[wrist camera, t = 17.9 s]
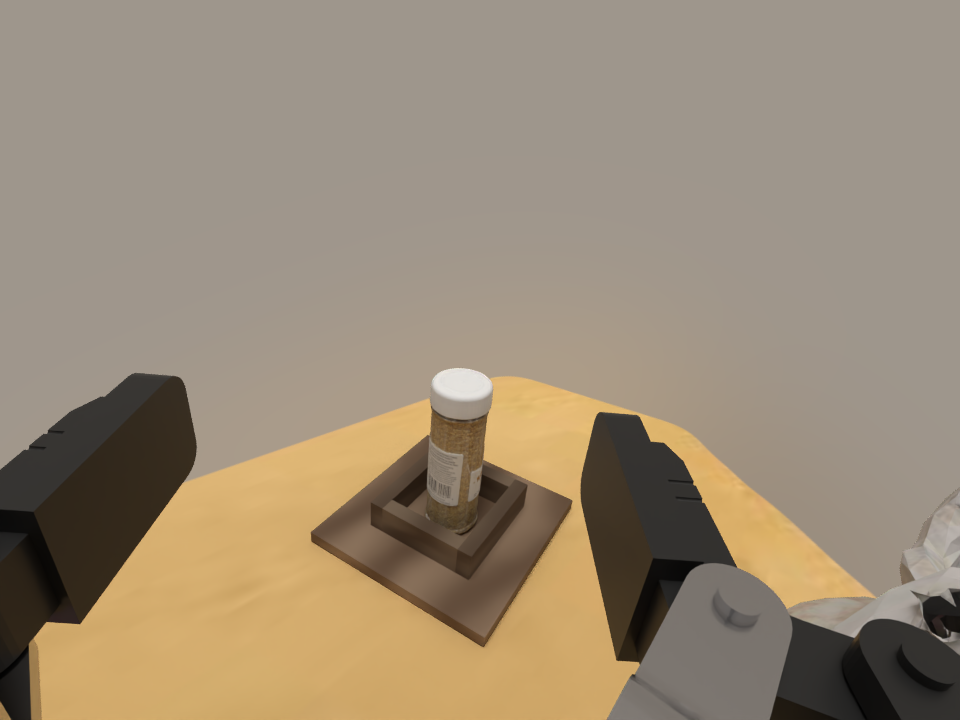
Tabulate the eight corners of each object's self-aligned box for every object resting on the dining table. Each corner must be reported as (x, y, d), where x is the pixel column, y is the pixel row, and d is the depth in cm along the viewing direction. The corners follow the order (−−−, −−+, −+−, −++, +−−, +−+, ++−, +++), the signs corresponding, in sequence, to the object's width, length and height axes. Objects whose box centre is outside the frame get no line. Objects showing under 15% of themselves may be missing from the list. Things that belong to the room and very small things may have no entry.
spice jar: (487, 524, 45) (506, 389, 38) (440, 545, 42) (451, 404, 36) (459, 491, 48) (472, 360, 42) (413, 508, 46) (419, 373, 39)
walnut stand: (311, 541, 43) (308, 508, 41) (427, 442, 55) (428, 415, 54) (483, 647, 36) (488, 613, 35) (570, 508, 49) (577, 479, 47)
